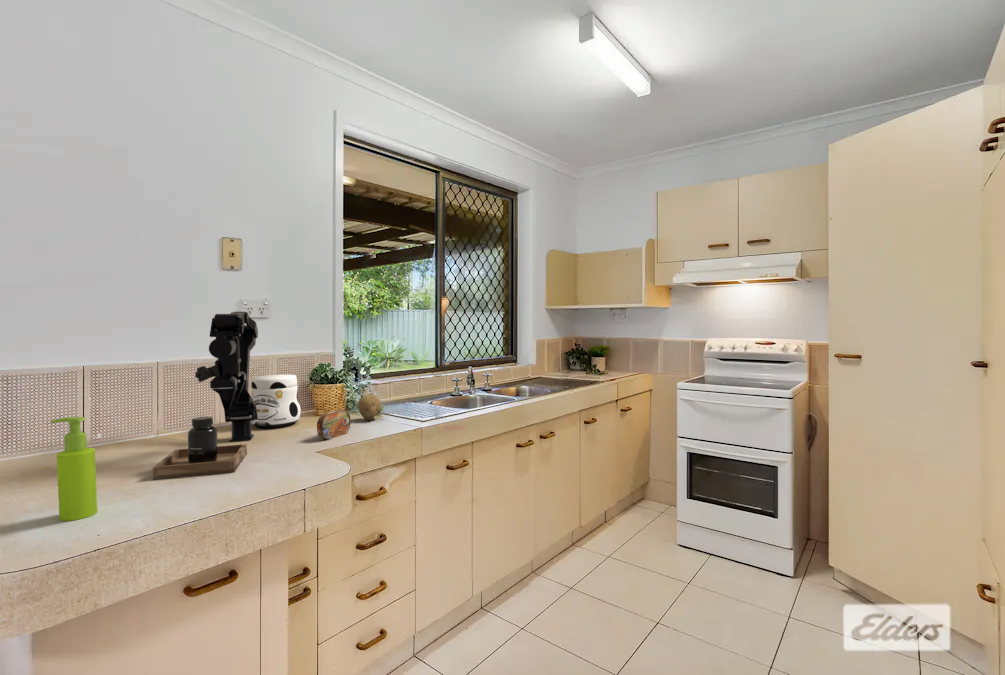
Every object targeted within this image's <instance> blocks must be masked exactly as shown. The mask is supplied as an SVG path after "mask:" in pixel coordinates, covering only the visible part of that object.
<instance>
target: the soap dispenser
mask: <svg viewBox="0 0 1005 675" xmlns="http://www.w3.org/2000/svg"><path fill="white" fill-rule="evenodd" d="M84 421H86V417H85V416H84V417H83V416H82V417H80V416H66V417H61V418H57V419H53V420H50V421H49V422H50V423H51V424H54V423H55V424H56V423H64V422H65V423H69V427H68V428H69V432H68V433H67V434H65V435H64V436H63V439H64V440H63V441H64V442H63V443H64V450H63V451H60V452H57V454H56V470H57V471H56V472H57V490H58V491H57V492H58V493H57V494H58V513H59V514H58V518H59V520H60V521H63V522H71V521H78V520H82V519H86V518H89V517H91V516H94V515H95V514H97V513H98V497H97V495H98V493H97V477H96V476H97V471H96V449H95V448H94V447H88V446H87V443H88V442H87V433H86V432H83V431H82V430H81V422H84Z"/></svg>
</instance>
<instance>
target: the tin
mask: <svg viewBox="0 0 1005 675" xmlns="http://www.w3.org/2000/svg"><path fill="white" fill-rule="evenodd" d="M351 422H352V420H351V416H350V413H349V412H348V411H347V410H346V409H337V410H333V411H330V412H327V413H324V414H322V415H320V416H319V417H318V420H317V422H316V432H317V435H318V437H319V438H320V439H322V440H333V439H335V438H337V436H338V437H340V435H341V436H342V435H343V436H344V435H346V434H347V433H348V432H349V430H350V428H351ZM334 437H335V438H334ZM332 438H333V439H332Z"/></svg>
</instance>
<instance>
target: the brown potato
mask: <svg viewBox="0 0 1005 675" xmlns="http://www.w3.org/2000/svg"><path fill="white" fill-rule="evenodd" d="M357 409H358V412H359V414H360V415H361V417H362V418H364V420H366V421H372V420H373V419H374V418H375V417H376V416H378V415H379V414H381V412H382V411H383V404H382V402H381V400H380V398H379V397H377V396H375V395H374V394H370V393H369V394H366V395H363V396H362V397H361V398H360V399H359V400H358V403H357Z"/></svg>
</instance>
